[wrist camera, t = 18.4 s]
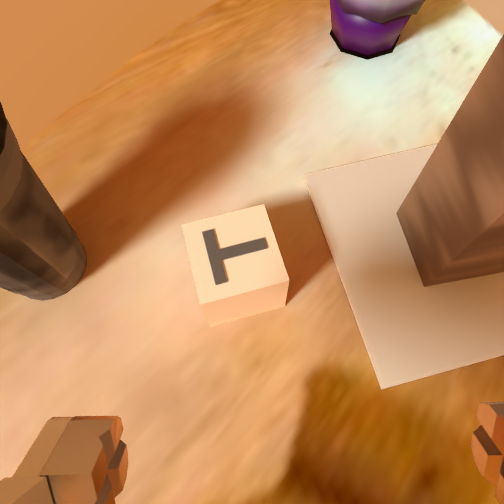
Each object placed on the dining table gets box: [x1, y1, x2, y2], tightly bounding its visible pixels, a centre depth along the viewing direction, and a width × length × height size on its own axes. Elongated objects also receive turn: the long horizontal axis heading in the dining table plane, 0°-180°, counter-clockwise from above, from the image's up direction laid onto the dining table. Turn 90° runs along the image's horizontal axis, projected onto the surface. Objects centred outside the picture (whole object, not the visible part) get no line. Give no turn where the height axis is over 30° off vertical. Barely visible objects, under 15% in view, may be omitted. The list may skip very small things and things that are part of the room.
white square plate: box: [304, 144, 504, 390], centre depth 26 cm, size 14×14×1 cm
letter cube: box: [181, 204, 290, 327], centre depth 23 cm, size 4×4×5 cm
